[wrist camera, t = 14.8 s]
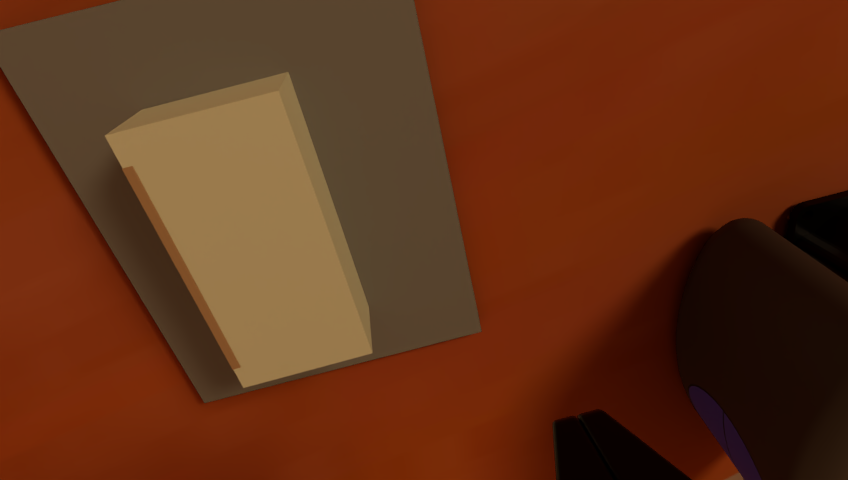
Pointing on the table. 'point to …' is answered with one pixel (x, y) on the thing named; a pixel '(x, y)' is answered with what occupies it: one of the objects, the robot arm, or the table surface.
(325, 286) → the block
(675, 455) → the table surface
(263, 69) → the mat
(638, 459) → the robot arm
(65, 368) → the table surface
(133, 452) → the table surface
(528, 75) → the table surface
